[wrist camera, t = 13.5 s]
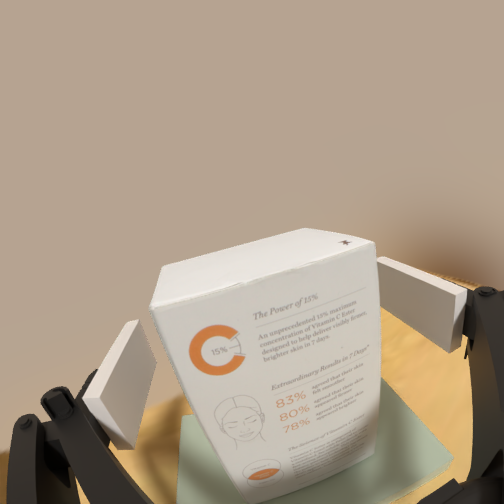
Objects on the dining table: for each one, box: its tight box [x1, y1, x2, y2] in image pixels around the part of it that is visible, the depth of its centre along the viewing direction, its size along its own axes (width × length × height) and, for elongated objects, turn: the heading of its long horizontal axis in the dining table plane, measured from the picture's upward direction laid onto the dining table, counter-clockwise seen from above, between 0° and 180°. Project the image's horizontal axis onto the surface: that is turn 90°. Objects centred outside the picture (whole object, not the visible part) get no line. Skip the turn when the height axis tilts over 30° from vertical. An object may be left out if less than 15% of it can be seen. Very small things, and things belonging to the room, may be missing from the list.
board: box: [176, 377, 454, 504], centre depth 15 cm, size 16×12×2 cm
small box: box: [149, 228, 381, 504], centre depth 13 cm, size 8×6×13 cm
